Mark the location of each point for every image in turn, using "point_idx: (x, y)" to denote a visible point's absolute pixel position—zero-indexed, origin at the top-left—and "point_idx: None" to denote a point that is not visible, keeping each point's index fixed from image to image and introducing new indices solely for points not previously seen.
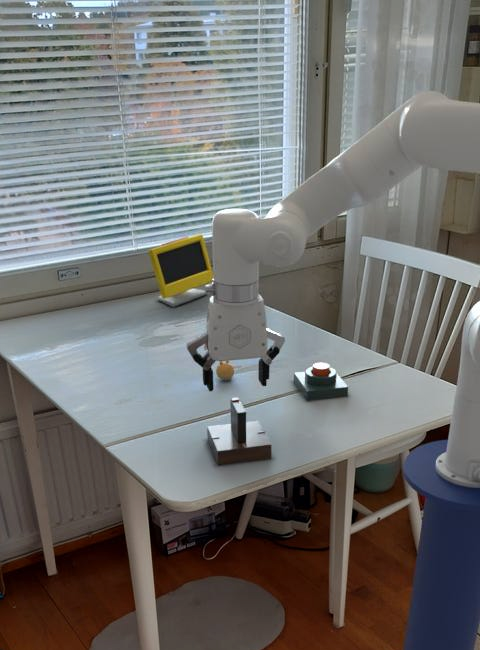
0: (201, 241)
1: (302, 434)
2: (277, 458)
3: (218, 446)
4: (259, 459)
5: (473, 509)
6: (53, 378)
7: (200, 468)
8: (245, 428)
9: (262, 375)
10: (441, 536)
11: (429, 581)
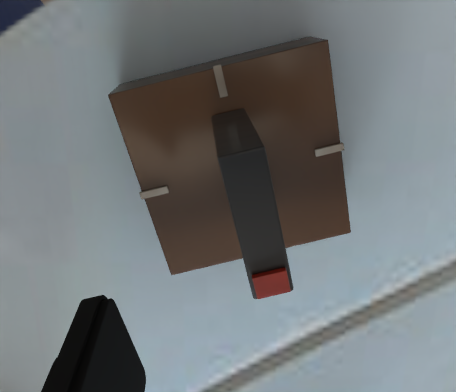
0: None
1: (29, 250)
2: (97, 89)
3: (321, 79)
4: (161, 74)
5: None
6: None
7: (373, 16)
8: (216, 130)
9: (94, 356)
10: None
11: None
